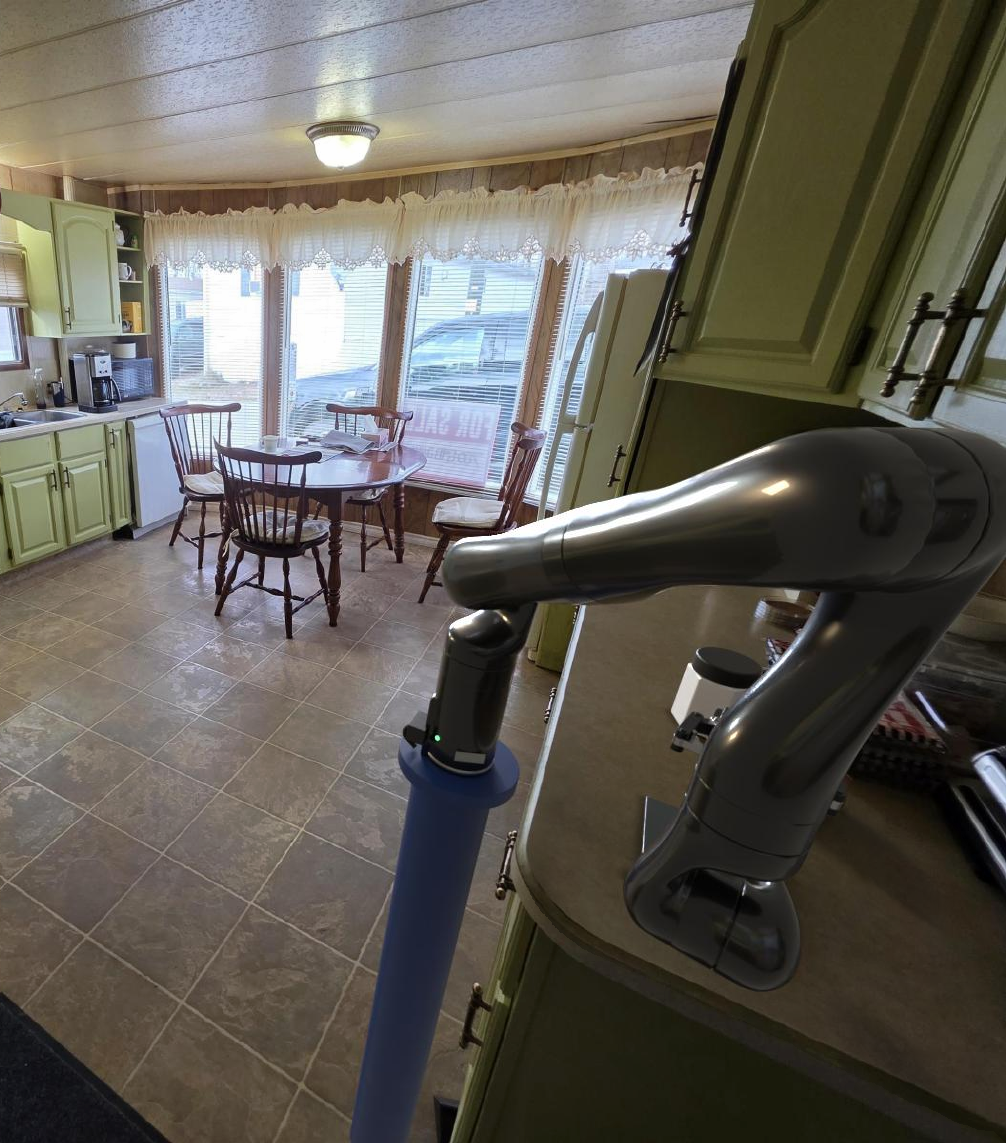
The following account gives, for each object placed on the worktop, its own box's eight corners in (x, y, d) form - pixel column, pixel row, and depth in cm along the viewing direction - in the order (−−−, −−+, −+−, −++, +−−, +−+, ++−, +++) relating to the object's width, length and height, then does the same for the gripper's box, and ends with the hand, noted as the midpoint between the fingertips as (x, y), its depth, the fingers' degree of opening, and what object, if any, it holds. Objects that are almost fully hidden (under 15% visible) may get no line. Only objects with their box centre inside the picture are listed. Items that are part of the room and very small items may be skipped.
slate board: (640, 862, 71) (642, 857, 71) (644, 800, 80) (646, 796, 80) (781, 920, 65) (784, 915, 64) (768, 846, 74) (771, 841, 74)
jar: (705, 745, 91) (732, 678, 87) (658, 713, 99) (681, 649, 94) (750, 736, 94) (779, 670, 89) (701, 706, 101) (726, 643, 96)
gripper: (863, 815, 51) (866, 730, 62) (664, 734, 60) (698, 673, 71) (826, 880, 53) (836, 787, 65) (642, 794, 63) (678, 726, 74)
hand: (764, 728), depth 68 cm, fingers closed on smoothie, 6 cm apart
